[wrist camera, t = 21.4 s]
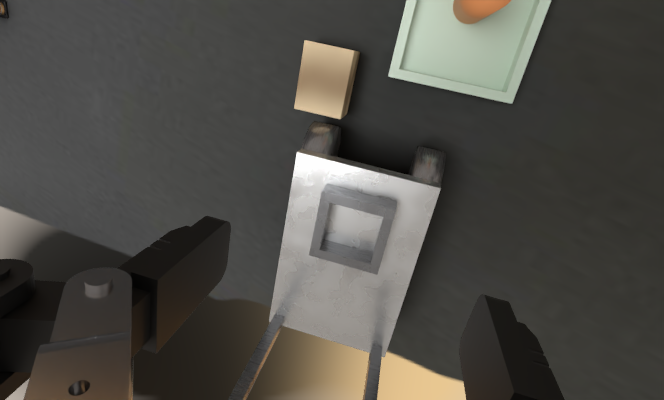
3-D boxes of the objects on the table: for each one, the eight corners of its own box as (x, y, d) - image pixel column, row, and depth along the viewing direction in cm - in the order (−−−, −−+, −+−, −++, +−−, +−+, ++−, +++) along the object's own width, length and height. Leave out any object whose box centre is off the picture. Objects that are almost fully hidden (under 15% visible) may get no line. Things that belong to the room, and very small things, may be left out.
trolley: (322, 116, 38) (222, 176, 18) (442, 144, 37) (476, 244, 17) (291, 285, 46) (197, 457, 26) (387, 314, 45) (367, 519, 25)
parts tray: (432, -101, 30) (434, -115, 28) (571, -79, 29) (585, -91, 27) (389, 75, 36) (388, 76, 33) (505, 101, 34) (512, 103, 32)
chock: (315, 42, 36) (304, 40, 33) (360, 51, 36) (354, 50, 32) (305, 103, 38) (294, 108, 35) (347, 113, 38) (340, 119, 34)
